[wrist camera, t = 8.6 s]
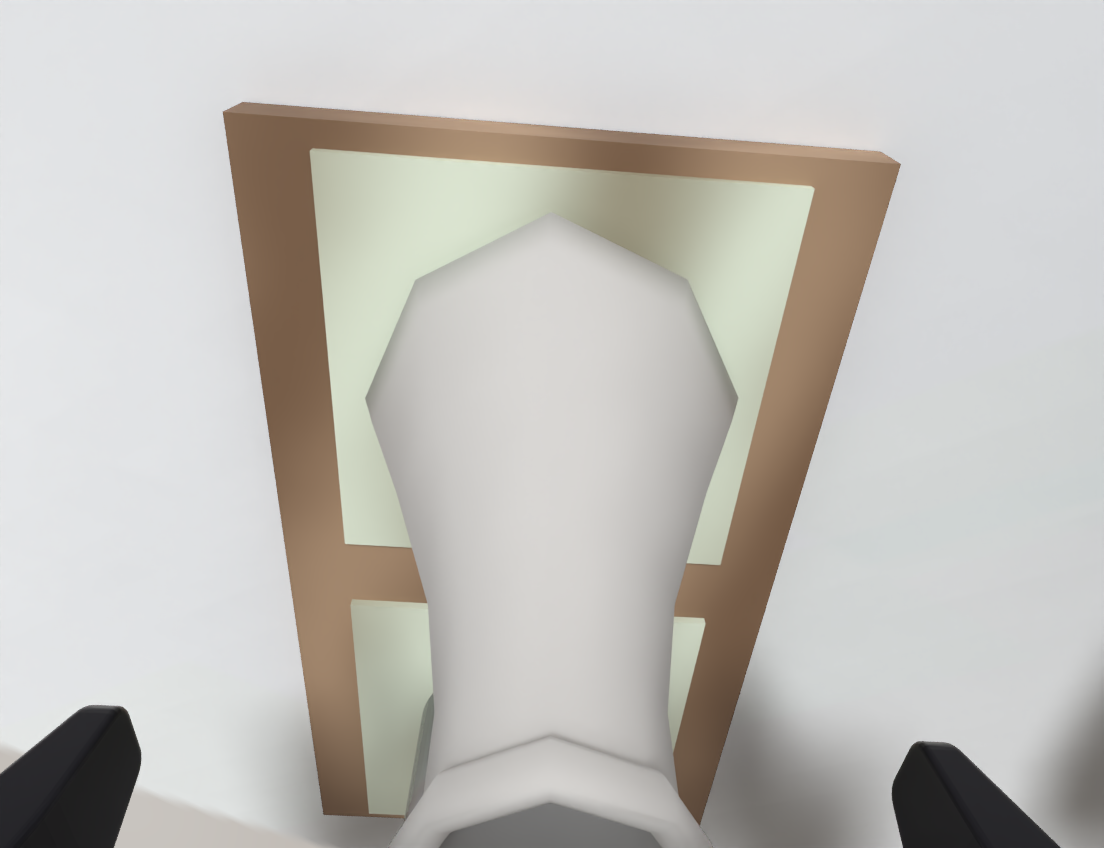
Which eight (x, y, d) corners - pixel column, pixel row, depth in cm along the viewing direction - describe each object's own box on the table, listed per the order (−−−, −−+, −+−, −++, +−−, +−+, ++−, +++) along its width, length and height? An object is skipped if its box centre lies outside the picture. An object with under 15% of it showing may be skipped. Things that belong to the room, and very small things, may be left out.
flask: (552, 574, 19) (552, 1097, 10) (306, 391, 16) (26, 892, 7) (796, 391, 16) (1076, 892, 7) (551, 133, 13) (548, 459, 5)
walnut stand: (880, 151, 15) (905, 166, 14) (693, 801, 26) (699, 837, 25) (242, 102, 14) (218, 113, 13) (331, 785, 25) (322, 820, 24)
